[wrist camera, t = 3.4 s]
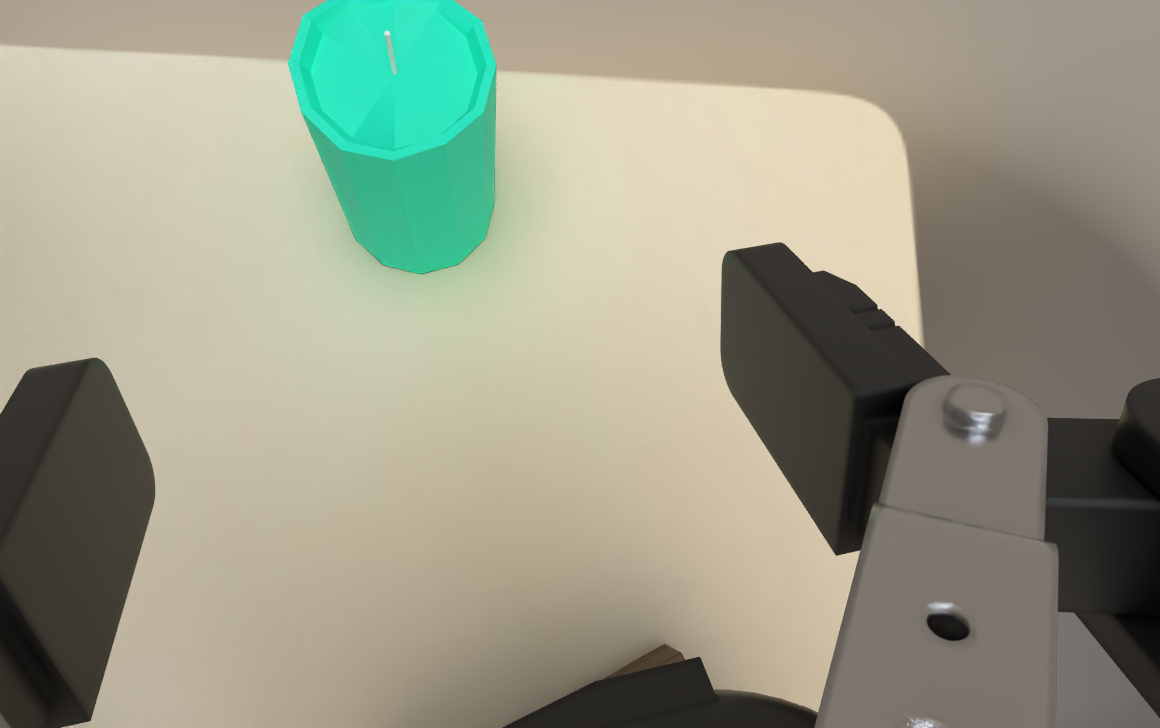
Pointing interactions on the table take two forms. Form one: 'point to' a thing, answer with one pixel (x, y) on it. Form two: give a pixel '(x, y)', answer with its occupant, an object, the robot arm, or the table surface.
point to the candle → (402, 123)
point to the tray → (652, 660)
